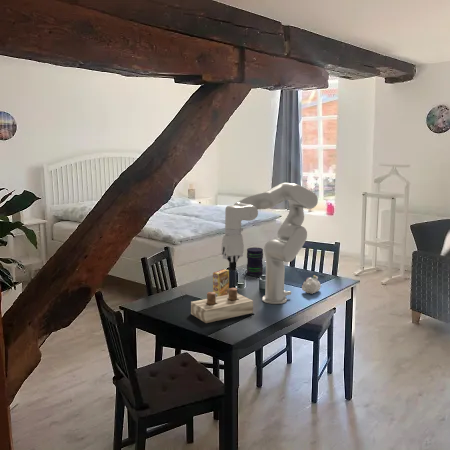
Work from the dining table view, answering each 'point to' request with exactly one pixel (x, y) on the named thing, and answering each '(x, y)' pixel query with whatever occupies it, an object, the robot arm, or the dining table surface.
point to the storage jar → (254, 261)
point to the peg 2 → (232, 294)
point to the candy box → (221, 282)
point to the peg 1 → (211, 298)
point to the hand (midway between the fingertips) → (232, 269)
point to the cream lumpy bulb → (311, 285)
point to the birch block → (221, 308)
